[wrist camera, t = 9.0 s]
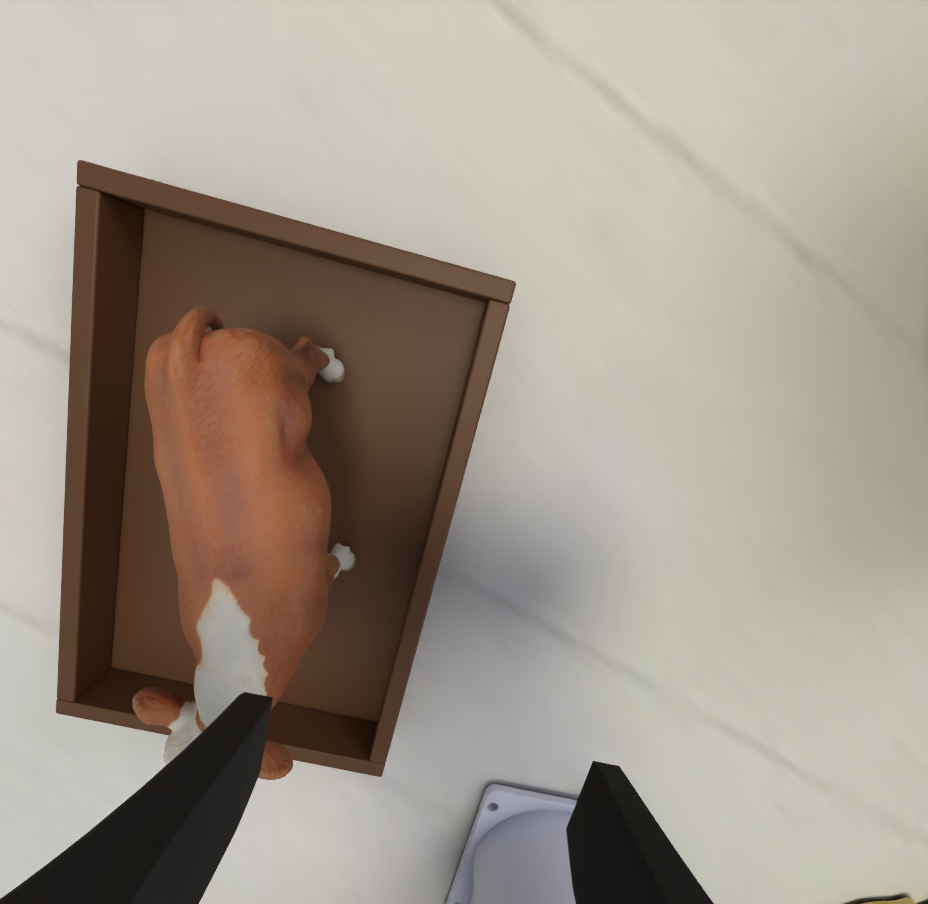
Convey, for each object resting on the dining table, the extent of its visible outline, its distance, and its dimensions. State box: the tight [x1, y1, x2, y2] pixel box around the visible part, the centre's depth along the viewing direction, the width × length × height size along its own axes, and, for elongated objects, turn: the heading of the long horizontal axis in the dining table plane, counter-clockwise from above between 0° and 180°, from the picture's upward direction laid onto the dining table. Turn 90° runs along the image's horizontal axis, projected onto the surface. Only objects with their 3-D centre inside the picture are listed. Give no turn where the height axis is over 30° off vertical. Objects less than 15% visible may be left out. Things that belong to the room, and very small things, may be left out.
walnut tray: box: [56, 160, 516, 777], centre depth 17 cm, size 20×13×2 cm, turn 165°
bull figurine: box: [132, 306, 356, 780], centre depth 14 cm, size 4×13×8 cm, turn 175°
